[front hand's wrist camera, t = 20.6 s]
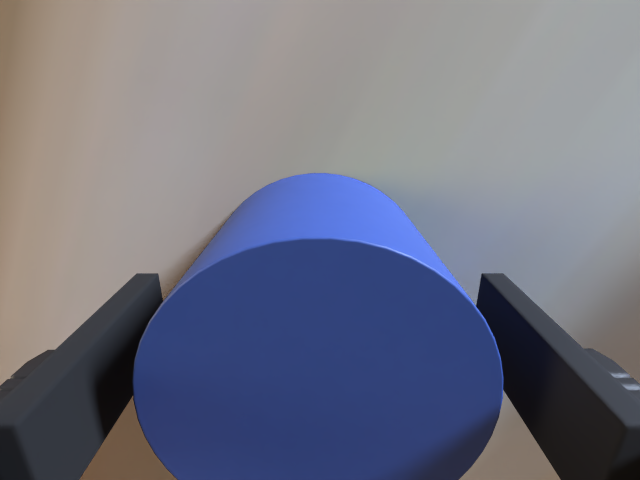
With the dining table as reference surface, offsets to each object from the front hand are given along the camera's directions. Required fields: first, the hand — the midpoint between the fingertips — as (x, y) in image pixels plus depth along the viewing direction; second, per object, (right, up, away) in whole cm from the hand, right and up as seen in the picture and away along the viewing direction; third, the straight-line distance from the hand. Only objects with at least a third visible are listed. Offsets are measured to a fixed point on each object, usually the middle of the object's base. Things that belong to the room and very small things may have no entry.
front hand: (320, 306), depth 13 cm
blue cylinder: (0, +1, +2) cm, 2 cm away
